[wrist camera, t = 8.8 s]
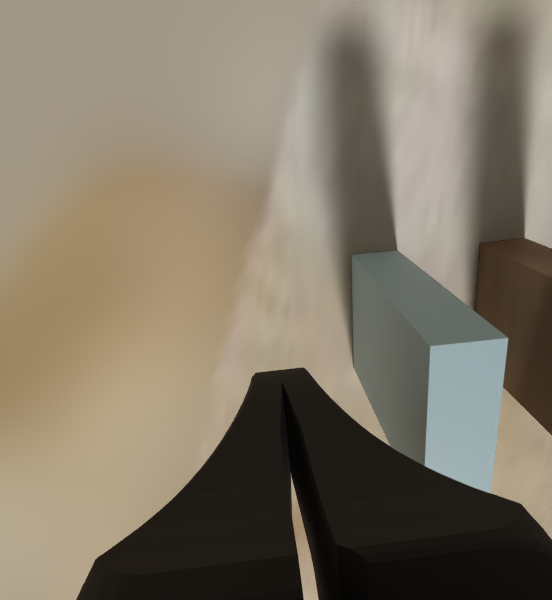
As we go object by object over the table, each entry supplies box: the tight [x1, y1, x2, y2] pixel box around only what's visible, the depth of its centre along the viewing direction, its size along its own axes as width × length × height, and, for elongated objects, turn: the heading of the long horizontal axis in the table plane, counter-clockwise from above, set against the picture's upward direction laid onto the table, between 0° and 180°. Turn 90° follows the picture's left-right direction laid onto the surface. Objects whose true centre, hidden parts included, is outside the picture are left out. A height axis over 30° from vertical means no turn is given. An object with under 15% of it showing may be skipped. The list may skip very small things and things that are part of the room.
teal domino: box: [351, 250, 508, 493], centre depth 13 cm, size 2×4×7 cm, turn 5°
